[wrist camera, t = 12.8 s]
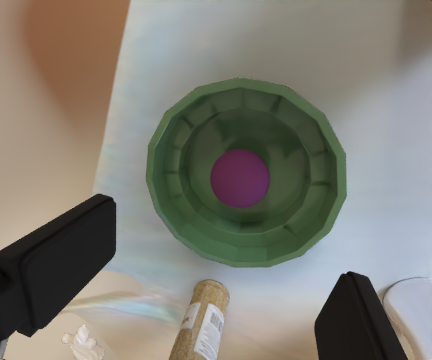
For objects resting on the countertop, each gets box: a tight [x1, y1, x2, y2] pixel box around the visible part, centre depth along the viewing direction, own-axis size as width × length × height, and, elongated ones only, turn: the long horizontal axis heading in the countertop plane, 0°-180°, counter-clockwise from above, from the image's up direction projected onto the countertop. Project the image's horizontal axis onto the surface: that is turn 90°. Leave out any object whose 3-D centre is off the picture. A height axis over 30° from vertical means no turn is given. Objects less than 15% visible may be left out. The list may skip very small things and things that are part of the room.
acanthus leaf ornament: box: [62, 324, 105, 360], centre depth 39 cm, size 8×7×2 cm
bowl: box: [146, 77, 347, 267], centre depth 20 cm, size 15×15×5 cm
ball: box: [210, 149, 270, 208], centre depth 19 cm, size 5×5×5 cm
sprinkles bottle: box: [169, 280, 229, 360], centre depth 23 cm, size 5×5×14 cm
